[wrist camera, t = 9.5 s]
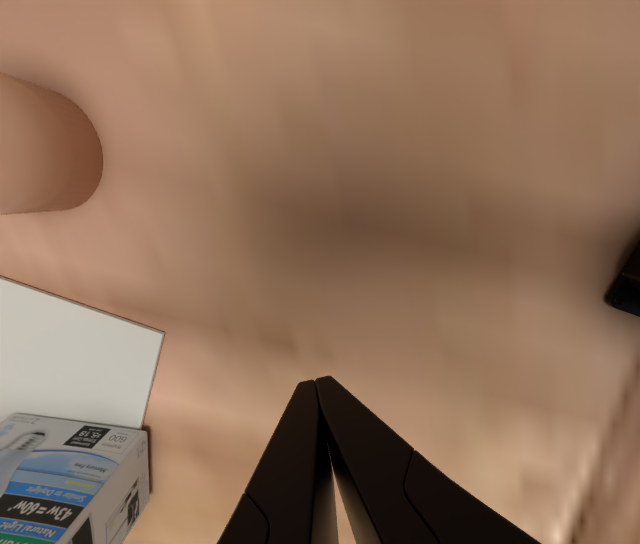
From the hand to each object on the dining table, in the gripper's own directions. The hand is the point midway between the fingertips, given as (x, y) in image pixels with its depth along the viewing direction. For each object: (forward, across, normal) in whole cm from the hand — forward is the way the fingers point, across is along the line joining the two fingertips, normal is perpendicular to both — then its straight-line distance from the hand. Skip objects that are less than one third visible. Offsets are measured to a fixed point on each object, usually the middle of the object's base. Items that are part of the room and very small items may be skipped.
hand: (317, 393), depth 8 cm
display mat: (+16, +20, +8) cm, 27 cm away
